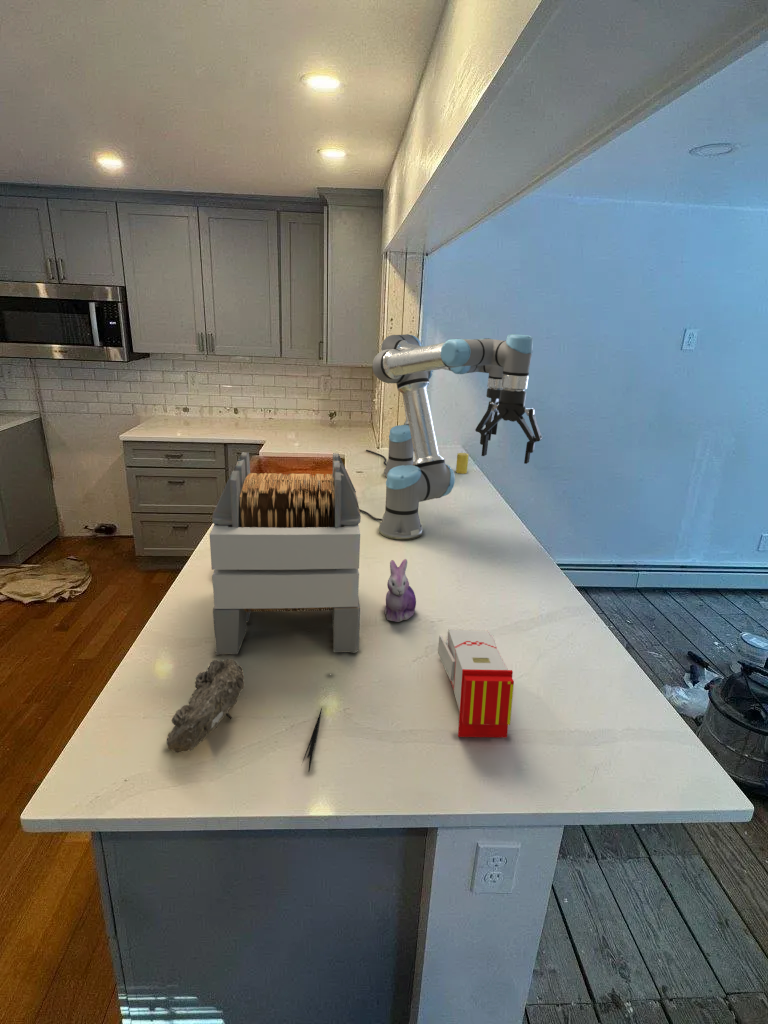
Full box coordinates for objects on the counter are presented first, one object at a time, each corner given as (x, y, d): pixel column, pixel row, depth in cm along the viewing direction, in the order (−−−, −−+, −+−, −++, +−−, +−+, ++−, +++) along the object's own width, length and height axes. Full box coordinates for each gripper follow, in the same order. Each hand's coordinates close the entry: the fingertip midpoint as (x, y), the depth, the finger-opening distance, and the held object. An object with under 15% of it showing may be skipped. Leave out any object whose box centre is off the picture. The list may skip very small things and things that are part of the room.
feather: (331, 679, 122) (336, 673, 122) (307, 777, 96) (313, 769, 95) (324, 675, 122) (329, 669, 121) (298, 772, 95) (304, 764, 95)
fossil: (192, 660, 117) (244, 628, 112) (224, 691, 120) (276, 661, 115) (142, 746, 98) (202, 712, 93) (182, 779, 101) (242, 748, 96)
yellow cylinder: (469, 473, 279) (470, 454, 276) (460, 474, 276) (462, 455, 273) (461, 470, 284) (463, 452, 280) (453, 471, 281) (455, 453, 278)
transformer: (234, 586, 158) (226, 442, 144) (351, 584, 161) (355, 445, 148) (213, 657, 126) (200, 481, 112) (359, 653, 130) (365, 483, 116)
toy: (488, 613, 130) (523, 677, 101) (484, 667, 133) (517, 744, 104) (435, 612, 130) (455, 676, 101) (432, 666, 133) (451, 743, 103)
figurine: (392, 627, 141) (395, 572, 136) (374, 608, 149) (376, 556, 144) (425, 619, 145) (429, 566, 140) (405, 601, 154) (408, 550, 149)
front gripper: (559, 392, 165) (548, 463, 172) (478, 383, 176) (471, 450, 184) (552, 395, 159) (541, 468, 166) (469, 385, 170) (462, 454, 177)
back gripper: (499, 392, 231) (493, 443, 238) (509, 386, 253) (503, 433, 260) (481, 391, 233) (475, 441, 240) (492, 384, 255) (487, 431, 262)
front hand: (504, 459), depth 175 cm, fingers open, 13 cm apart
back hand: (490, 437), depth 250 cm, fingers open, 13 cm apart
